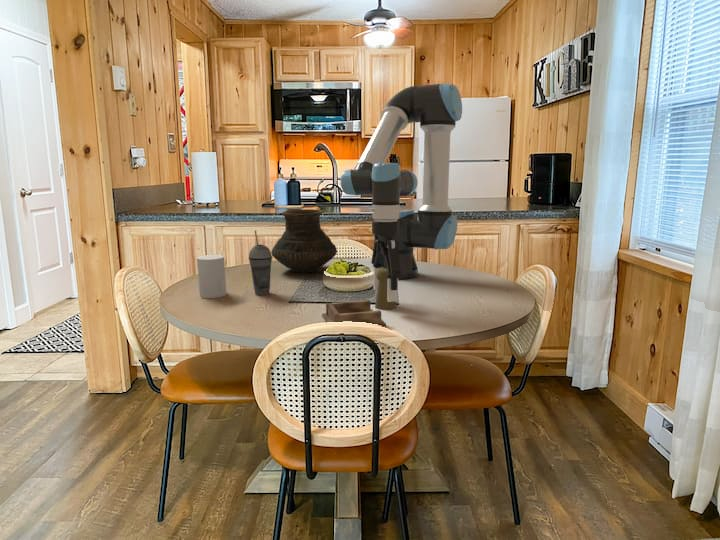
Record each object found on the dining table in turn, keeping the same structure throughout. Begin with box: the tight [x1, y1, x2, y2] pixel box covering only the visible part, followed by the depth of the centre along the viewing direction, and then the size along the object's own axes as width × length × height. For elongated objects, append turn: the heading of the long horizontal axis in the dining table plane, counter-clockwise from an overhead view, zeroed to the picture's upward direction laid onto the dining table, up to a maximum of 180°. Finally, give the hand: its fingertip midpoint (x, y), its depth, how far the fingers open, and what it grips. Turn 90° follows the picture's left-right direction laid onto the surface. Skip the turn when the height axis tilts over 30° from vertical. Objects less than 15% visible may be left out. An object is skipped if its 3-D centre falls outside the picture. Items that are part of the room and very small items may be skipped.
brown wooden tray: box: [321, 299, 387, 327], centre depth 133 cm, size 14×13×4 cm
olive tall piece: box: [374, 268, 397, 311], centre depth 144 cm, size 6×6×11 cm
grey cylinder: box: [196, 254, 227, 299], centre depth 159 cm, size 8×8×12 cm
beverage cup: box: [248, 229, 273, 296], centre depth 159 cm, size 7×7×20 cm
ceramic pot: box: [270, 208, 338, 273], centre depth 192 cm, size 24×24×22 cm
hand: (385, 295), depth 145 cm, fingers open, 13 cm apart
